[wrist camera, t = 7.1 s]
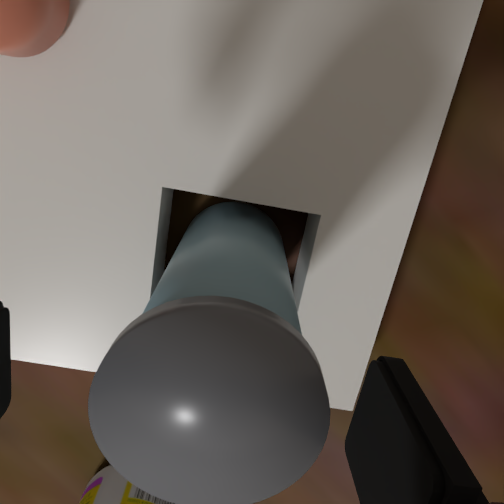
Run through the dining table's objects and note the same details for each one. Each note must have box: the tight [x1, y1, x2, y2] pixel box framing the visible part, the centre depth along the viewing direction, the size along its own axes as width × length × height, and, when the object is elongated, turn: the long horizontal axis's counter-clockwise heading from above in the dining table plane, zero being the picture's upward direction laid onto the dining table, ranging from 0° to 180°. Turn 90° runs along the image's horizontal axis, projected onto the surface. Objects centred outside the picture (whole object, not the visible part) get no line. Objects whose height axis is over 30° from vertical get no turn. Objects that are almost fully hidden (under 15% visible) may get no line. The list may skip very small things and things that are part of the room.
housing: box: [0, 0, 483, 411], centre depth 18 cm, size 20×18×3 cm
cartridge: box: [88, 202, 330, 504], centre depth 15 cm, size 6×6×12 cm
